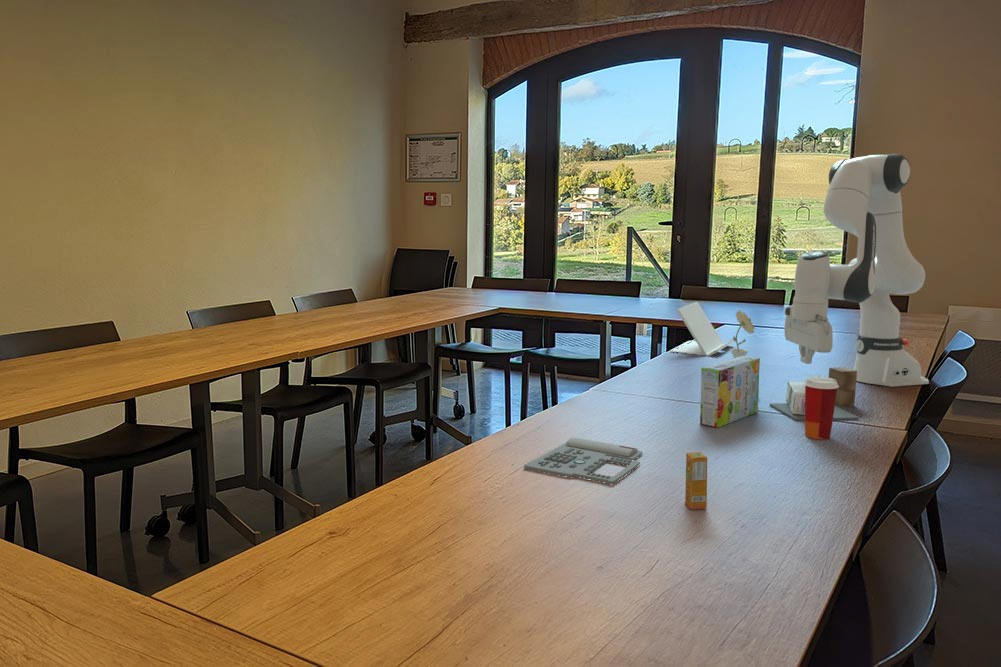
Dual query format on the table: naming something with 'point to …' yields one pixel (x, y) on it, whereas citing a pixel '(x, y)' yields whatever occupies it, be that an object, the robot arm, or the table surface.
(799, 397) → the syrup box
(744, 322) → the flower in vase
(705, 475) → the supplement box
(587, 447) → the office telephone
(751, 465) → the table surface
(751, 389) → the snack box
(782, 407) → the mat
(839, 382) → the walnut block
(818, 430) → the paper cup
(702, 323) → the tablet stand
